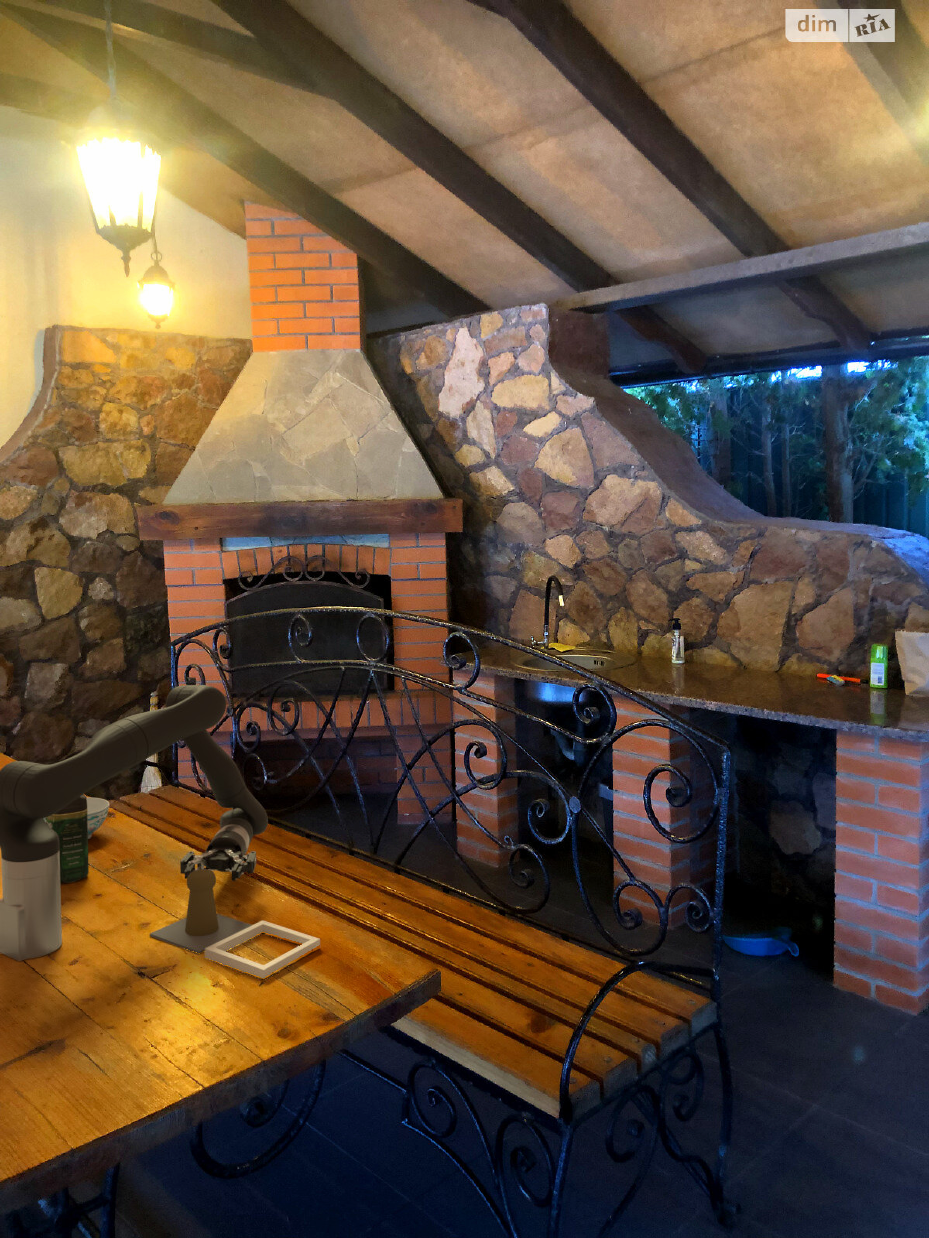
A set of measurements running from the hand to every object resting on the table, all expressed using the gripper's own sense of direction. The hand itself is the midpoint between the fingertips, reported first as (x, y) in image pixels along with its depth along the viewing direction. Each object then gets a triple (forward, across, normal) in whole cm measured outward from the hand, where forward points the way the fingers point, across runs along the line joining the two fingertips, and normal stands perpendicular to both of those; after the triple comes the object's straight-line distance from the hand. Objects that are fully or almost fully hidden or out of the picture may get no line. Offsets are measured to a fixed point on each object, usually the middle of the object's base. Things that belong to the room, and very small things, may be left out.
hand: (211, 876), depth 177 cm
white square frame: (+17, +13, +8) cm, 22 cm away
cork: (+8, 0, +7) cm, 11 cm away
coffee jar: (-20, -35, +8) cm, 41 cm away
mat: (+8, 0, +8) cm, 11 cm away
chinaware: (-45, -42, +8) cm, 62 cm away
